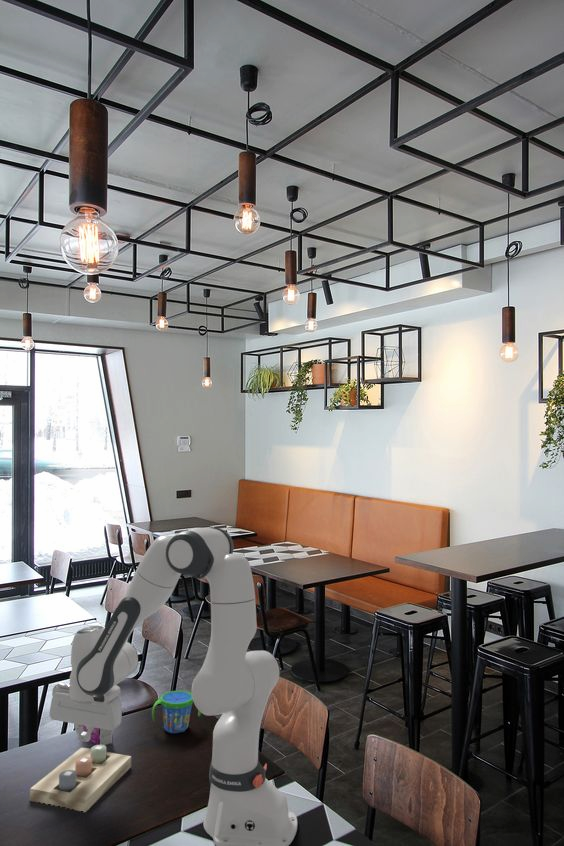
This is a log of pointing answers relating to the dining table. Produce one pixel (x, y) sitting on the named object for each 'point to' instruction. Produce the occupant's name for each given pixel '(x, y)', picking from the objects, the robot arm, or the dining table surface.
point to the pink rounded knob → (83, 766)
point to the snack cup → (175, 710)
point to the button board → (81, 781)
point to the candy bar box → (100, 736)
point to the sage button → (98, 754)
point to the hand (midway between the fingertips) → (83, 740)
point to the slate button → (67, 780)
